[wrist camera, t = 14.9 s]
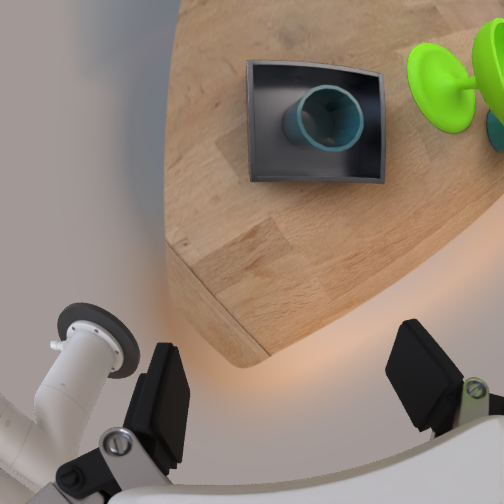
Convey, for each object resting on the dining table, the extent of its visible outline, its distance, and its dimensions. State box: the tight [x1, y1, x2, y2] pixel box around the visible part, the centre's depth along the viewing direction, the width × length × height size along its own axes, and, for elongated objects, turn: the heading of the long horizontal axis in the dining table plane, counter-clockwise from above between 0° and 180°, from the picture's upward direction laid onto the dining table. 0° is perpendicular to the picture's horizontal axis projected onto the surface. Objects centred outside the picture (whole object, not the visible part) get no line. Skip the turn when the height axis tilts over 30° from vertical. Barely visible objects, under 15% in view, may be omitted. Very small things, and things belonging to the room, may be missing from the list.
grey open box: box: [246, 60, 386, 184], centre depth 28 cm, size 15×13×7 cm
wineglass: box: [407, 17, 504, 133], centre depth 20 cm, size 16×16×18 cm
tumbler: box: [283, 85, 364, 152], centre depth 26 cm, size 7×7×9 cm
